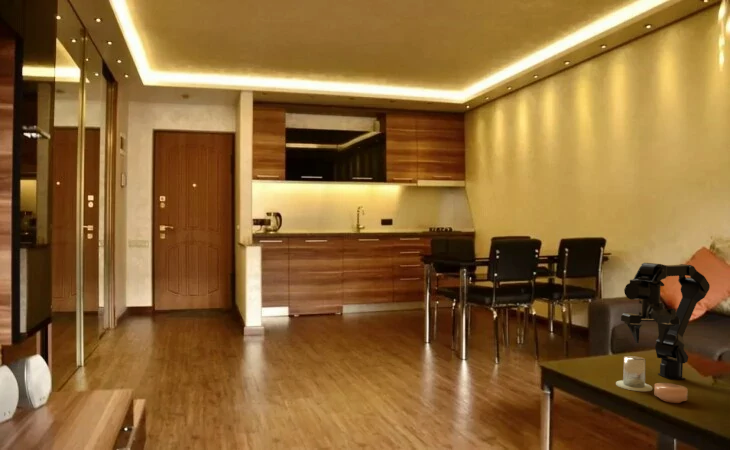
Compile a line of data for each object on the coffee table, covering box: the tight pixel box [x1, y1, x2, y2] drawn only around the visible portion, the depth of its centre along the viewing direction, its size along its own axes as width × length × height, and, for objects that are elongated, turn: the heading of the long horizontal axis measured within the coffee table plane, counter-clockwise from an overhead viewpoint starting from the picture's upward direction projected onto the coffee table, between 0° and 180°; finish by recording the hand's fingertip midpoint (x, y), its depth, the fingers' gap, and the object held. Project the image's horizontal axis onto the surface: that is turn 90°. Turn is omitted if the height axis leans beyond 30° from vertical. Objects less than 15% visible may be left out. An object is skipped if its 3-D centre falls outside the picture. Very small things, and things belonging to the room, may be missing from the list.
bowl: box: [653, 382, 688, 404], centre depth 172 cm, size 9×9×4 cm
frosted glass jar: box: [622, 355, 647, 388], centre depth 185 cm, size 7×7×9 cm
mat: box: [615, 379, 653, 393], centre depth 185 cm, size 11×11×1 cm
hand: (649, 343), depth 193 cm, fingers open, 9 cm apart
